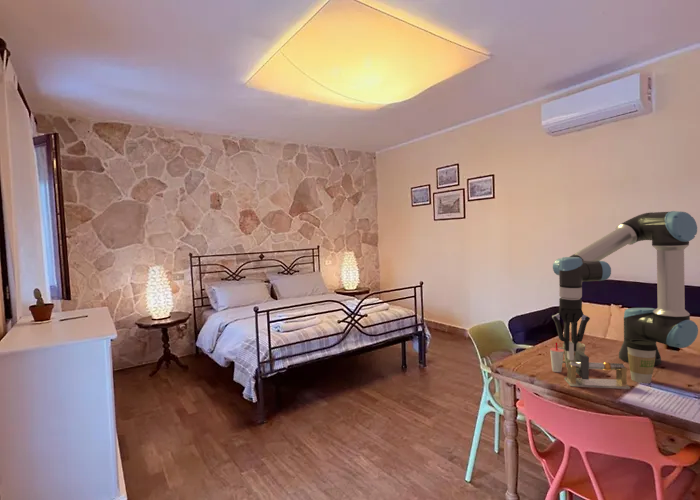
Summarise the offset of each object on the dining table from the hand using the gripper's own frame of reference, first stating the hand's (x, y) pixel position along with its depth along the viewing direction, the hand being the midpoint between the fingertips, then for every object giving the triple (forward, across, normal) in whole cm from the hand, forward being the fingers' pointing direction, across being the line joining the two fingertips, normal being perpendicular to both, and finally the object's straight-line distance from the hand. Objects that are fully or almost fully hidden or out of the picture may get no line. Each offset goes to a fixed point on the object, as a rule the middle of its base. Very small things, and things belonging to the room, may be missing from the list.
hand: (570, 359), depth 154 cm
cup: (+10, +1, -13) cm, 16 cm away
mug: (+10, -5, -18) cm, 21 cm away
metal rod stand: (+9, -9, 0) cm, 13 cm away
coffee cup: (+10, -27, -6) cm, 29 cm away
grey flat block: (+6, -4, 0) cm, 7 cm away
